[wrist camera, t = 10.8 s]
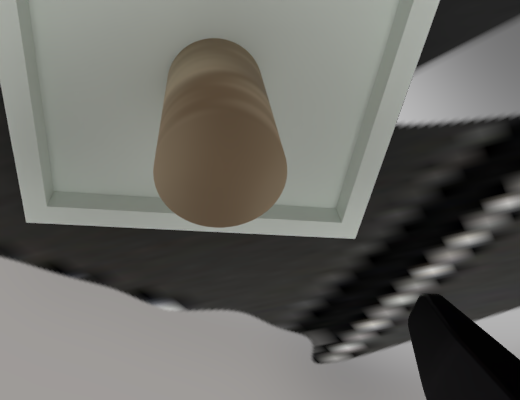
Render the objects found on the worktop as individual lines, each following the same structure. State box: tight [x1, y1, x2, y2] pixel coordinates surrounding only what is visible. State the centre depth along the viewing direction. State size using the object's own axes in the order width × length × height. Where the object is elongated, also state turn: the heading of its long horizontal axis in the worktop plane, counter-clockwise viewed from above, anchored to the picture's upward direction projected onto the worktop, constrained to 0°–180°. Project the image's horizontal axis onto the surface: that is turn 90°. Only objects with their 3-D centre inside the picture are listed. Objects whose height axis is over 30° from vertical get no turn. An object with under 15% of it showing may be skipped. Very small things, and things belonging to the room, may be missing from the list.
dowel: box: [153, 38, 287, 228], centre depth 16 cm, size 4×4×7 cm
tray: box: [0, 0, 440, 239], centre depth 19 cm, size 16×14×2 cm
